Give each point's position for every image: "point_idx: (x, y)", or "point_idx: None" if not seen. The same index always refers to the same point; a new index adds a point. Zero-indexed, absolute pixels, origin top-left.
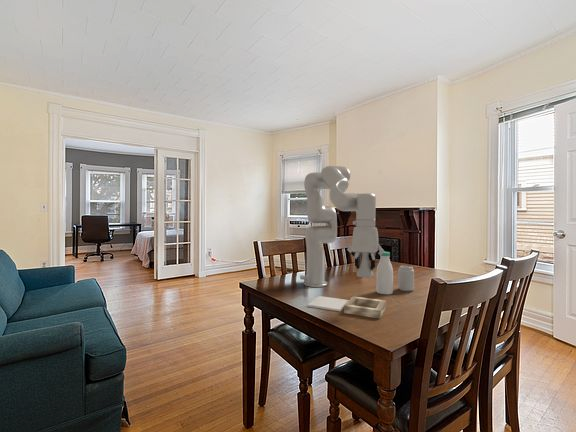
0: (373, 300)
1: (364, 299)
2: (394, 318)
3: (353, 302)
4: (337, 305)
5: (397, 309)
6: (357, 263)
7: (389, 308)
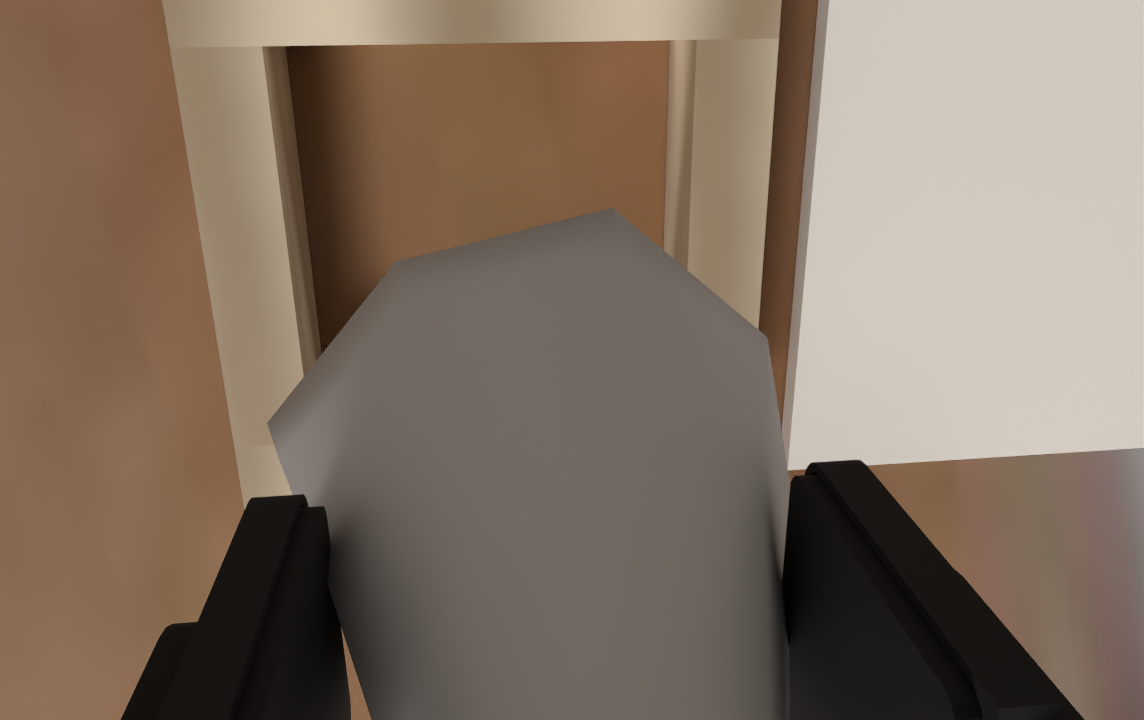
0: None
1: None
2: (12, 70)
3: (683, 250)
4: (894, 164)
5: (106, 465)
6: (897, 558)
7: (214, 455)
